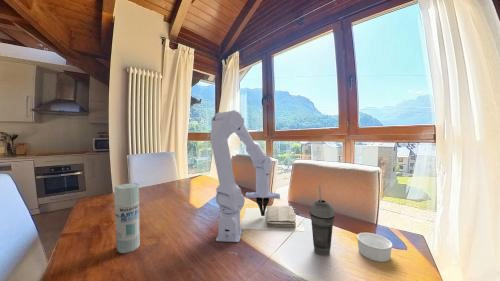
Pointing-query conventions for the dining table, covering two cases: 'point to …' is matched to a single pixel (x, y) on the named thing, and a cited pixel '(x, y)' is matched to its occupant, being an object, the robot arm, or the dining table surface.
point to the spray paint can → (127, 217)
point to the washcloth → (281, 216)
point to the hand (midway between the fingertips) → (262, 214)
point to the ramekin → (374, 247)
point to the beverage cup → (322, 225)
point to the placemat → (261, 221)
